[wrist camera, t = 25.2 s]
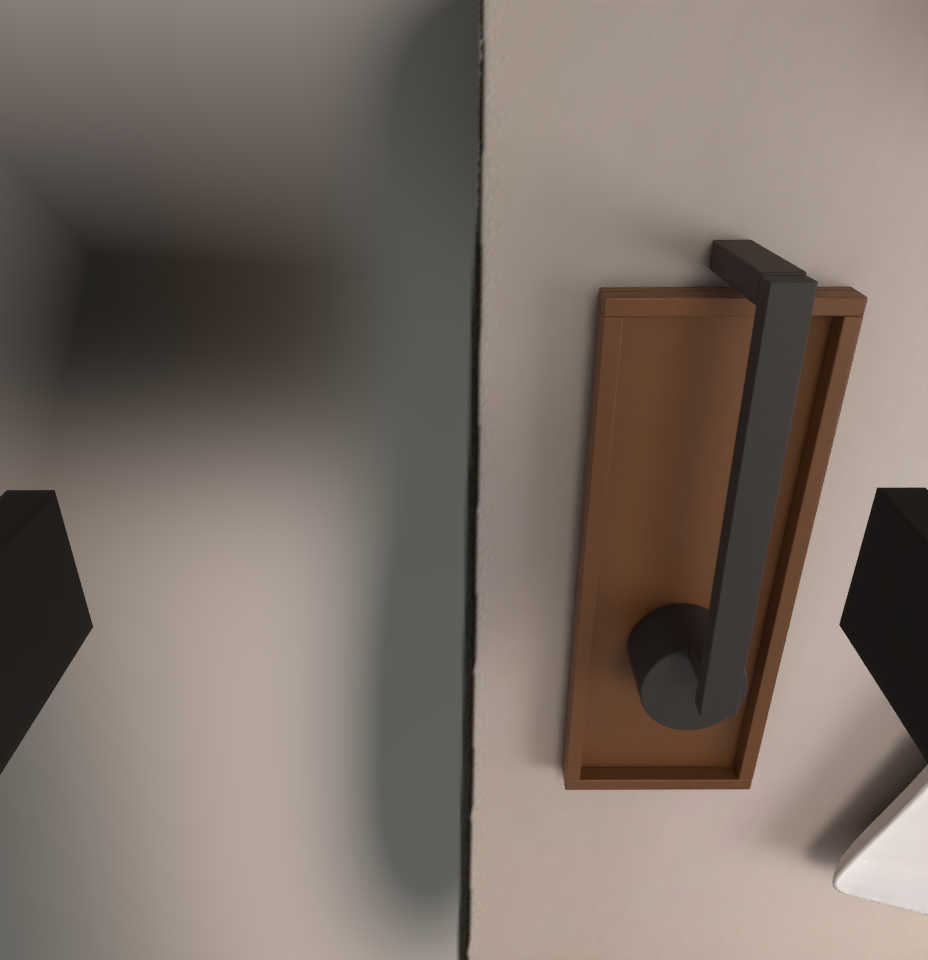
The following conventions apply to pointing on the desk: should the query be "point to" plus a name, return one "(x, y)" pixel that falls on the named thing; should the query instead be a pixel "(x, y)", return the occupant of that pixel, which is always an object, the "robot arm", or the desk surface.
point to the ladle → (733, 508)
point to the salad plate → (892, 854)
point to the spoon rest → (685, 519)
